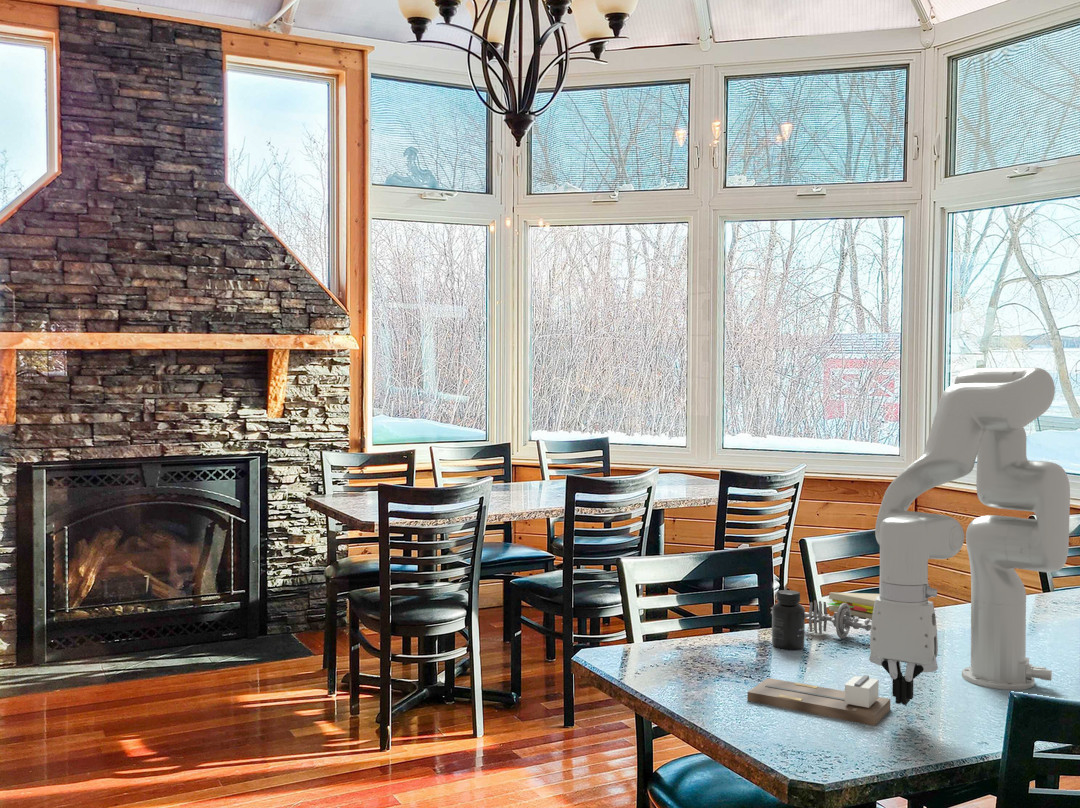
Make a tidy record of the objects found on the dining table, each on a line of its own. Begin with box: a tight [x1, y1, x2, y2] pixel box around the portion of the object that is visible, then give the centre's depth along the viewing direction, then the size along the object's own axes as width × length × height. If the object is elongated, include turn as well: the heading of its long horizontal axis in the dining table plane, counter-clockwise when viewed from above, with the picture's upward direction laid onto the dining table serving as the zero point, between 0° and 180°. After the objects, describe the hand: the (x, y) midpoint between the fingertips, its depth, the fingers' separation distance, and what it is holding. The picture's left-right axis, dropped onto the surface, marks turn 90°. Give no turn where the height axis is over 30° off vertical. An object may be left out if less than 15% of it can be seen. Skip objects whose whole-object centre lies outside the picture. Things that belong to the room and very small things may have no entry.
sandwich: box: [827, 591, 880, 620], centre depth 239 cm, size 15×20×5 cm
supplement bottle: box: [771, 589, 806, 651], centre depth 208 cm, size 7×7×12 cm
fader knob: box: [844, 674, 879, 708], centre depth 165 cm, size 4×6×4 cm, turn 146°
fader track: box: [747, 677, 891, 726], centre depth 169 cm, size 22×10×2 cm, turn 56°
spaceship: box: [770, 600, 872, 640], centre depth 215 cm, size 8×35×8 cm, turn 51°
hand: (902, 701), depth 161 cm, fingers closed
